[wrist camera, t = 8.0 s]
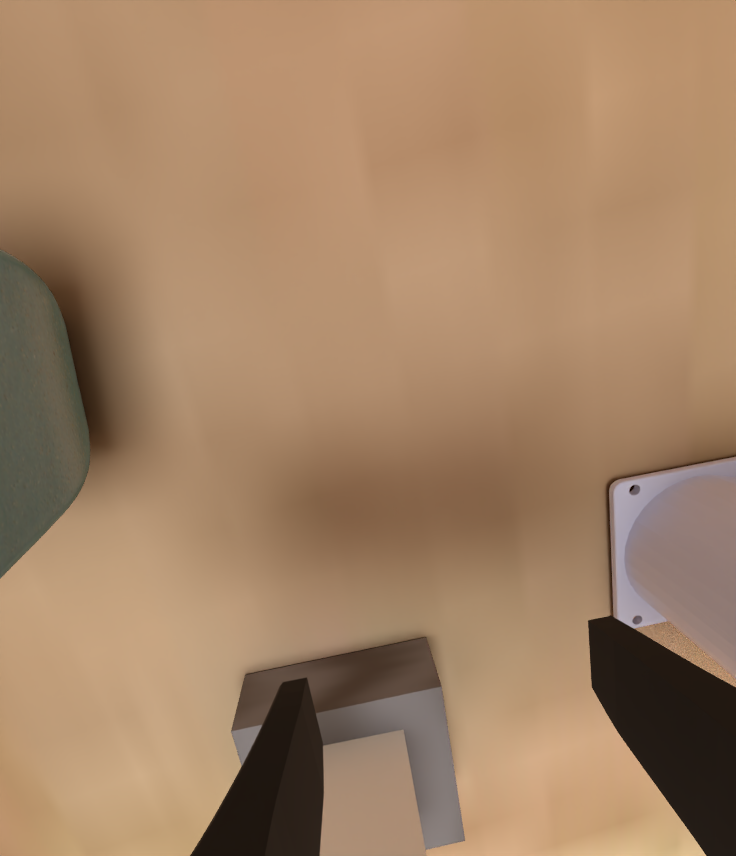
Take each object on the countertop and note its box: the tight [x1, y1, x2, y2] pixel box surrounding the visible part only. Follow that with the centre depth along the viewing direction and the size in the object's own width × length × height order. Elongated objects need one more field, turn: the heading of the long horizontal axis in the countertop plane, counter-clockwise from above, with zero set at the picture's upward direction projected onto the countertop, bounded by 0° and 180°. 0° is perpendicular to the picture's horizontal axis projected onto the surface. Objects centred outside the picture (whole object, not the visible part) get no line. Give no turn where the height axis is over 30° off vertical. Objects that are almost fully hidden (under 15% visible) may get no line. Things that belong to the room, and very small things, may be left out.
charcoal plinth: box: [231, 637, 465, 850], centre depth 21 cm, size 9×9×3 cm
